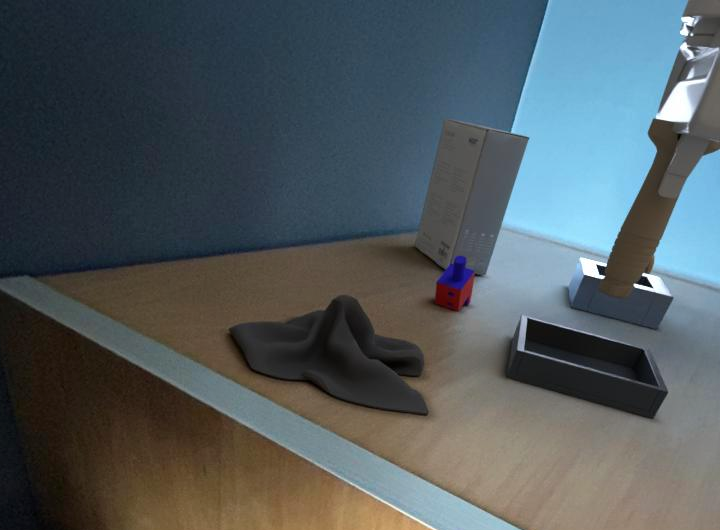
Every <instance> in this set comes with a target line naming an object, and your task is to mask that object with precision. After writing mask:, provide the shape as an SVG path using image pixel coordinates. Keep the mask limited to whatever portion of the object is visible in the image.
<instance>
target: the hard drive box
mask: <svg viewBox="0 0 720 530" xmlns="http://www.w3.org/2000/svg"><path fill="white" fill-rule="evenodd" d="M443 120H444V121H443V124H442V129H441V133H440V137H439V142H438V146H437V150H436V153H435V158H434V161H433V167H432V171H431V174H430V180H429V184H428V187H427V192H426V197H425V200H424V205H423V210H422V212H421V217H420V221H419V226H418V230H417V234H416V239H415V243H414V247H415V248H417V250H419V251H420V252H421V253H422V254H424V255H425V256H427V257H428V258H429V259H430V260H432V261H433V262H435V263H436V265H438V266H439V267H441V268H443V269H444V271H445V270H446V269H447V268H448V266H449V265H450V264H451V263H452V264H454V259H455V257H457V256H464V257H465V258H466V267H465V268H467V269H471V270H474V271H475V275H481V276H486V275H487V271H488V270H489V266H490V263H491V261H492V256H493V253H494V251H495V247H496V244H497V240H498V238H499V235H500V231H501V228H502V224H503V222H504V219H505V215H506V212H507V209H508V205H509V202H510V200H511V196H512V193H513V189H514V187H515V184H516V181H517V178H518V174H519V171H520V168H521V165H522V162H523V158H524V155H525V152H526V149H527V145H528V143H529V140H530V139H531V138H530V136H526V135H522V134H518V133H514V132H510V131H506V130H502V129H499V128H493V127H489V126H483V125H480V124H477V123H472V122H471V123H470V122H466V121H461V120H456V119H451V118H447V117H445V119H443Z"/></svg>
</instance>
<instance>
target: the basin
mask: <svg viewBox="0 0 720 530" xmlns="http://www.w3.org/2000/svg"><path fill="white" fill-rule="evenodd" d="M509 352H510V354H509V360H508V366H507V371H506V378H508V379H511V380H515V381H518V382H522V383H525V384H530V385H533V386H535V387H540V388H543V389H547V390H550V391H553V392H557V393H560V394H565V395H568V396H571V397H575V398H579V399H582V400H586V401H588V402H593V403H597V404H599V405H603V406H607V407H610V408H614V409H617V410H621V411H625V412H628V413H632V414H635V415H639V416H642V417H645V418H650V419H654V418H655V417H656V414H657V413H658V411H659V410H660V408H661V407H662V404H663V403H664V401H665V399H666V398H667V396H668V394H669V390H668V388H667V385H666V383H665V381H664V379H663V377H662V374H661V372H660V370H659V368H658V365H657V363H656V360H655V358H654V356H653V354H652V351H651V349H650V348H647V347H643V346H639V345H636V344H632V343H629V342H625V341H621V340H617V339H614V338H609V337H606V336H603V335H598V334H594V333H591V332H587V331H583V330H579V329H575V328H572V327H569V326H565V325H561V324H557V323H554V322H550V321H546V320H542V319H538V318H536V317H532V316H527V315H524V314H521V315H520V318H519V320H518V323H517V326H516V329H515V331H514V334H513V337H512V340H511V346H510V351H509Z"/></svg>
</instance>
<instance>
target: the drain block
mask: <svg viewBox="0 0 720 530" xmlns="http://www.w3.org/2000/svg"><path fill="white" fill-rule="evenodd" d="M606 265H607V263H605V262H601V261H596V260H592V259H588V258H585V257H579V259H578V263H577V264H576V267H575V269H574V271H573V274H572V277H571V280H570V282H569V284H568V286H567V287H568V295H569V296H568V297H569V304H570V308H573V309H577V310H580V311H584V312H588V313H592V314H596V315H599V316H602V317H607V318H611V319H615V320H619V321H623V322H626V323H629V324H632V325H633V324H634V325H638V326H641V327H645V328H649V329H652V330H653V329H654V330H658V329H659V327H660V325H661V323H662V321H663V319H664V318H665V316H666V314H667V311H668V310H669V308H670V307H671V304H672V302H673V300H674V298H675V296H674V295H673V293H672V292H671V291H670V289H669V288H668V287H667V285H666V284H665V283H664V281H663V280H662V278H661V277H660V276H656V275H652V274H645V273H643V275H642V276H641V278H640V279H639V280H638V282H635V283H634V286H635V287H634V289H633V291H632V292H631V294H630V295H629V296H628V297H627V298H626V299H620V298H617V297H610V296H608V295H607V294H605V293H602V292H600V291H599V286H600V283H601V280H602V279H604V277H605V275H606V274H605V273H604V272H605V268H606Z"/></svg>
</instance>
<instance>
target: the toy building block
mask: <svg viewBox="0 0 720 530" xmlns="http://www.w3.org/2000/svg"><path fill="white" fill-rule="evenodd" d="M465 267H466V258H465V257H464V256H457V257H455V259H454V264H452V263H451V264H450V265H449V266H448V268H447V269H446V270H445V269H444V271H443V273H442V274H441V275H440V277H439V278H438V279H437V281H436V283H435V294H434V296H435V297H434V304H435V305H439V306H441V307H445V308H448V309H450V310H454V311H457V312H459V311H460V310H461V308H462V307H463V305H464V306H466V307H468V306H469V305H470V303H471V302H472V295H473V294H472V293H473V288H474V281H475V275H476V274H475V271H474V270H471V269H467V268H465Z"/></svg>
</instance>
